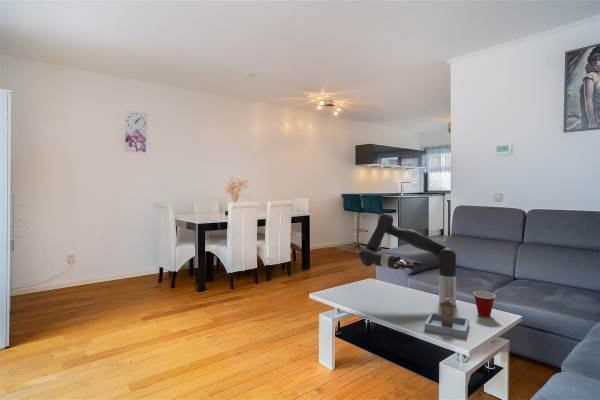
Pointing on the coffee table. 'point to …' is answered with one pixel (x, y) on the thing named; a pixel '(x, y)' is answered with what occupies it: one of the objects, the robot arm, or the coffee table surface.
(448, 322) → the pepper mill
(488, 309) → the plastic cup
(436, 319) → the bin
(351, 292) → the coffee table surface
